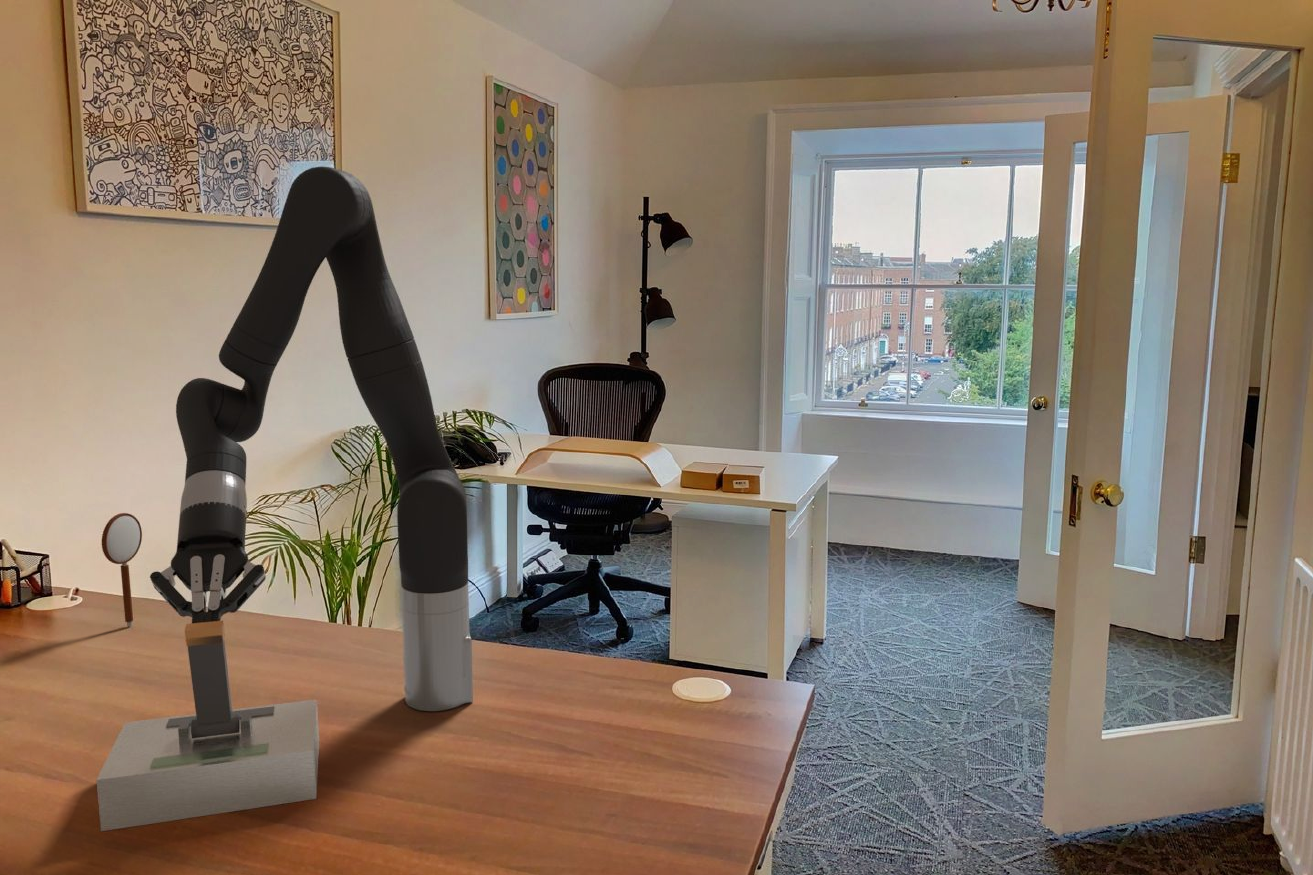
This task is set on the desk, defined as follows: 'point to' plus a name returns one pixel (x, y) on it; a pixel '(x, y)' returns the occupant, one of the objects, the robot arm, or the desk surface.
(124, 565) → the magnifying glass
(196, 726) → the breaker lever
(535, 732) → the desk surface
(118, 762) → the breaker box
